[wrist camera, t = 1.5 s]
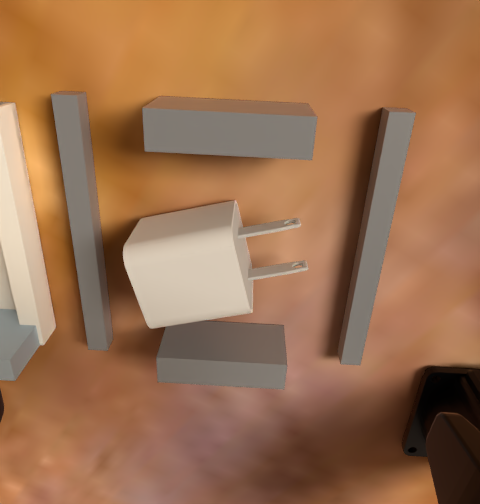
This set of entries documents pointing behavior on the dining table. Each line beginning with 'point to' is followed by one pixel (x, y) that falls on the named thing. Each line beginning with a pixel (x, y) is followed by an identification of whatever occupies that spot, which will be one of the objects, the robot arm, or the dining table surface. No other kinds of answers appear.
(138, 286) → the usb wall charger
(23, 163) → the drawer
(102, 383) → the dining table surface
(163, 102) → the blocks
